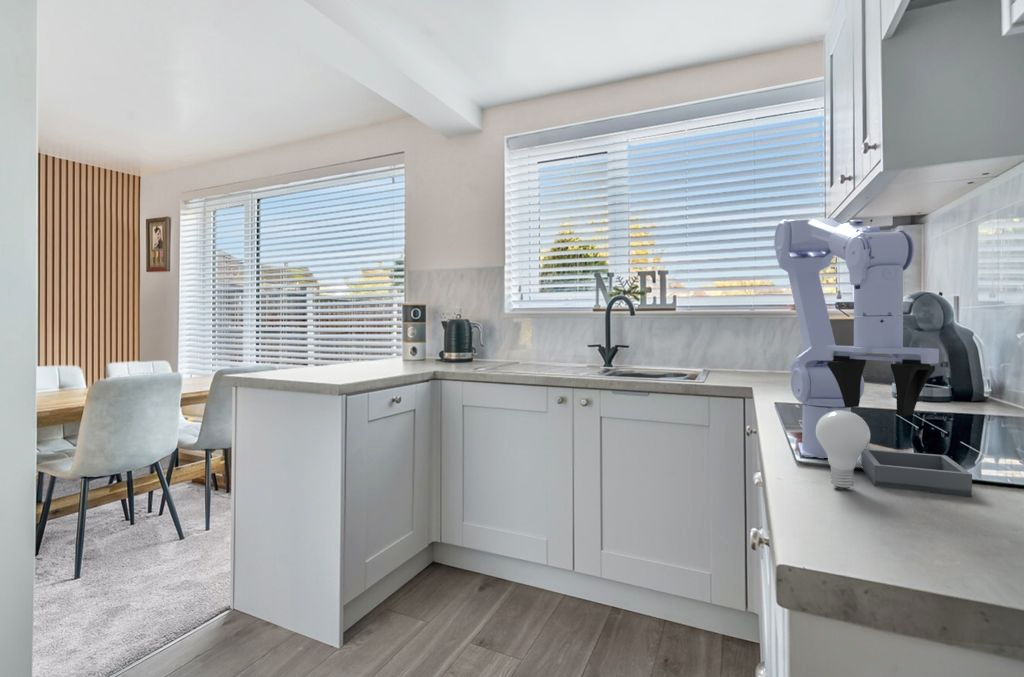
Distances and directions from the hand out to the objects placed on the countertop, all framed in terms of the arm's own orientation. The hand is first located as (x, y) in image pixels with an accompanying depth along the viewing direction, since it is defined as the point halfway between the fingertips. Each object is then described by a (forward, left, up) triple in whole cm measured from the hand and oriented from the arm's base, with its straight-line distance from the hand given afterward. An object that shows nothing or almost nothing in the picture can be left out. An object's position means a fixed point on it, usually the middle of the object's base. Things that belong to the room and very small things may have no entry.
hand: (877, 410), depth 73 cm
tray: (-3, +5, -10) cm, 12 cm away
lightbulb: (+5, -5, -11) cm, 13 cm away
